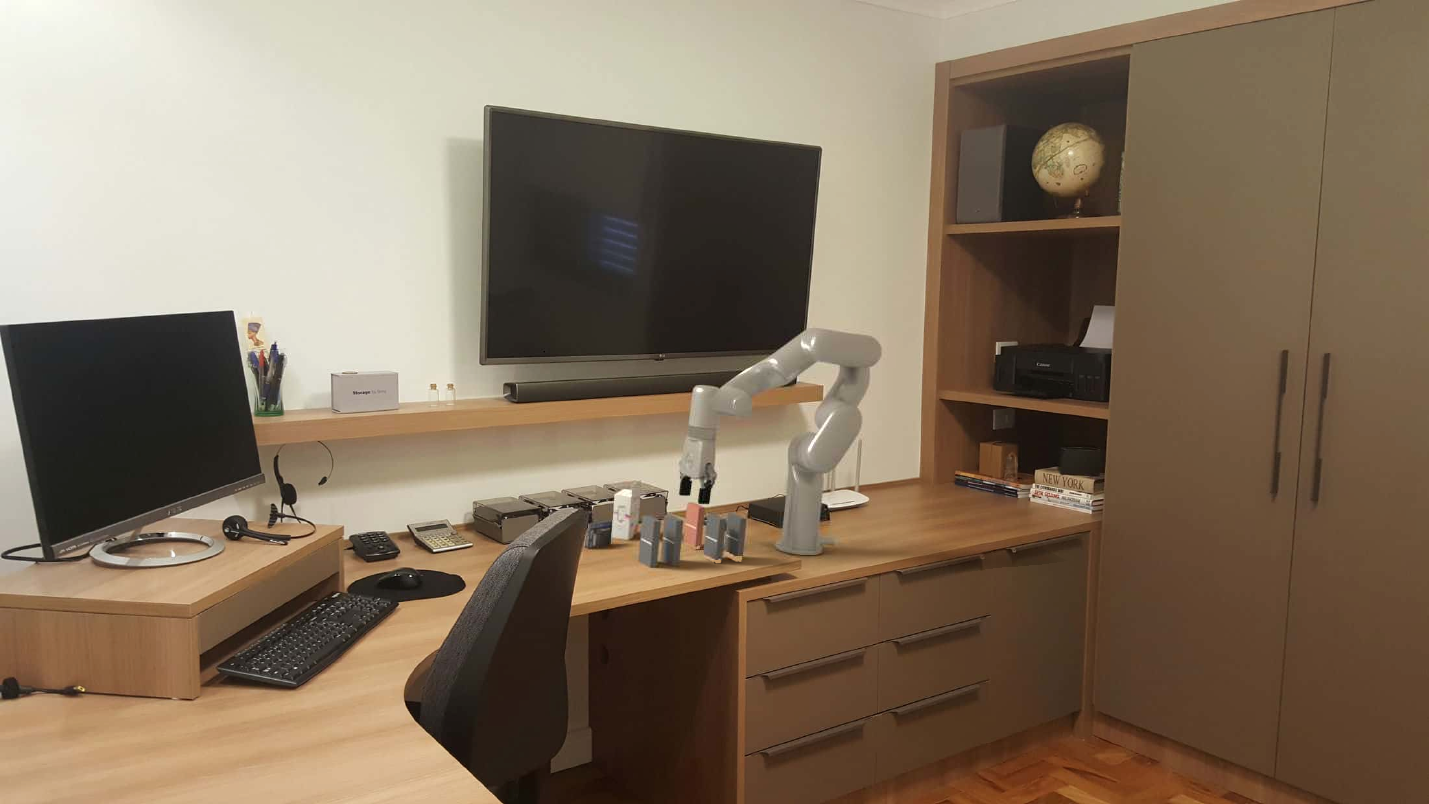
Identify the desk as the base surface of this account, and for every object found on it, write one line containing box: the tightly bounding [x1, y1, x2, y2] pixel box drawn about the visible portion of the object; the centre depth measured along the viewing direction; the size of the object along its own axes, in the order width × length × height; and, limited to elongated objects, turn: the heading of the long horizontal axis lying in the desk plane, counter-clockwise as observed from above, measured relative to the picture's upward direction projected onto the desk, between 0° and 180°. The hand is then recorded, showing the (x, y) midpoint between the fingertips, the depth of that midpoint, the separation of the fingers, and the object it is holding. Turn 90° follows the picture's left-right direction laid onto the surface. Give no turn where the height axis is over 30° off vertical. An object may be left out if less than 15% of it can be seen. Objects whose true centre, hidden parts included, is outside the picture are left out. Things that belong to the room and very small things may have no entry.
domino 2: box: [660, 514, 684, 567], centre depth 242 cm, size 2×6×11 cm, turn 31°
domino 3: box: [683, 502, 706, 547], centre depth 260 cm, size 2×6×11 cm, turn 31°
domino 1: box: [638, 515, 662, 569], centre depth 239 cm, size 2×6×11 cm, turn 31°
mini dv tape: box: [583, 520, 613, 550], centre depth 252 cm, size 8×2×6 cm, turn 143°
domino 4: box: [702, 513, 727, 560], centre depth 248 cm, size 2×6×11 cm, turn 31°
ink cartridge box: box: [611, 480, 642, 541], centre depth 264 cm, size 9×5×15 cm, turn 168°
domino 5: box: [723, 512, 748, 557], centre depth 251 cm, size 2×6×11 cm, turn 31°
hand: (693, 499), depth 259 cm, fingers open, 9 cm apart
